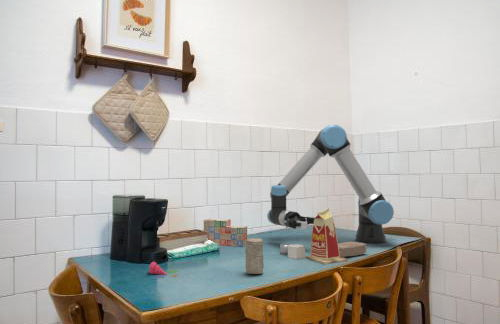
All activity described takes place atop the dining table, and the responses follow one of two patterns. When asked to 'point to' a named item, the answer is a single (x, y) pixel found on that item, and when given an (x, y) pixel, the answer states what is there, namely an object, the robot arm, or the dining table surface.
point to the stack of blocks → (225, 232)
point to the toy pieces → (160, 270)
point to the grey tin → (284, 249)
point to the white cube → (296, 251)
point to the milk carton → (324, 237)
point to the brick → (351, 249)
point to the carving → (254, 256)
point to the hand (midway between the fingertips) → (319, 224)
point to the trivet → (327, 260)
